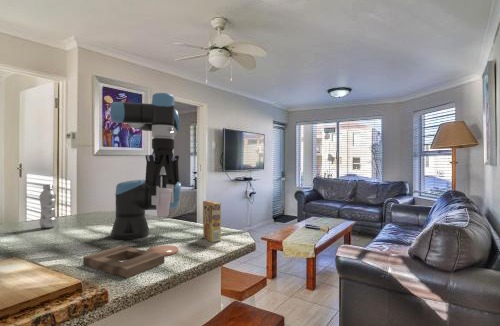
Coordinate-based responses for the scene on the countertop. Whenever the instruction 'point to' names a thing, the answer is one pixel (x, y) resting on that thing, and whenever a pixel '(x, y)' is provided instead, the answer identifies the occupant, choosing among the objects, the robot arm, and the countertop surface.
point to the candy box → (212, 221)
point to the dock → (128, 268)
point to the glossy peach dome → (164, 250)
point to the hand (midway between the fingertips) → (162, 203)
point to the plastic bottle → (47, 207)
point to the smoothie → (163, 201)
